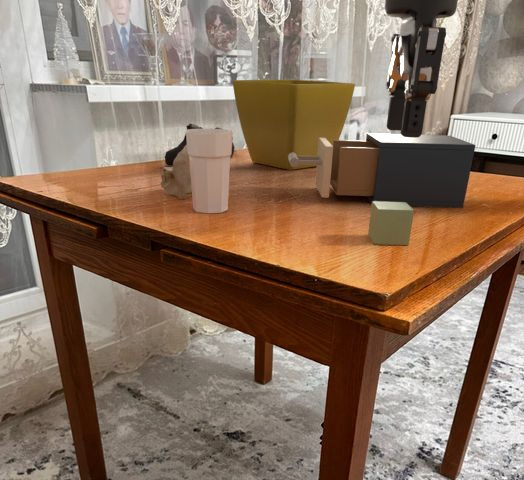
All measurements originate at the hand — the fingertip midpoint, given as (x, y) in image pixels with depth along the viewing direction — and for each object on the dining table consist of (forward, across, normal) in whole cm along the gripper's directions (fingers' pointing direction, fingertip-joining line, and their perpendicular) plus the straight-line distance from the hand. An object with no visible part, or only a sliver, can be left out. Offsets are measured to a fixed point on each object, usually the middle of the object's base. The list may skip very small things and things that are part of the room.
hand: (402, 133), depth 64 cm
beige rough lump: (+13, +24, +30) cm, 41 cm away
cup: (+13, +14, +24) cm, 31 cm away
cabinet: (+13, +26, -9) cm, 30 cm away
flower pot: (+13, +59, +10) cm, 61 cm away
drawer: (+12, +26, +2) cm, 29 cm away
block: (+13, 0, 0) cm, 13 cm away
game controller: (+13, +50, +29) cm, 59 cm away
